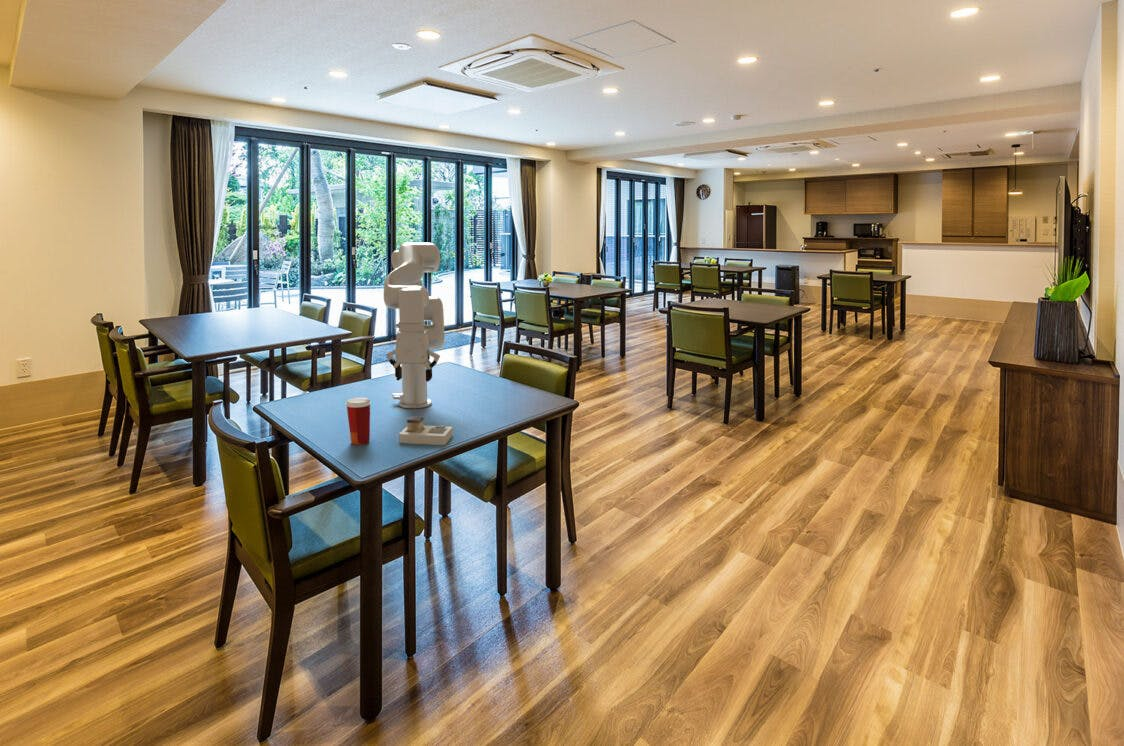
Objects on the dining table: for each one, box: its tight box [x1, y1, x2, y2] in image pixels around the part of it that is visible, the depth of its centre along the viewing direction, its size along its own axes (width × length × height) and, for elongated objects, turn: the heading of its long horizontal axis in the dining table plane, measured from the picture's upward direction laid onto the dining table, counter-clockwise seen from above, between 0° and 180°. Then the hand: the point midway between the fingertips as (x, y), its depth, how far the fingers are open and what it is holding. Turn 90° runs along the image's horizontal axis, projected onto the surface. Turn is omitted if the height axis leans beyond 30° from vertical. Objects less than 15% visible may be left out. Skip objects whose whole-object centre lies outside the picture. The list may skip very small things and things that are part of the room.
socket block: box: [398, 424, 454, 446], centre depth 202 cm, size 15×10×3 cm, turn 85°
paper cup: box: [344, 397, 372, 446], centre depth 197 cm, size 8×8×14 cm
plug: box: [406, 415, 424, 433], centre depth 202 cm, size 4×4×7 cm
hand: (413, 380), depth 199 cm, fingers open, 9 cm apart
